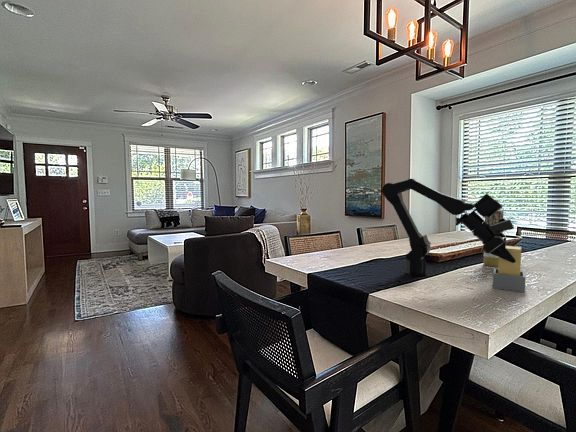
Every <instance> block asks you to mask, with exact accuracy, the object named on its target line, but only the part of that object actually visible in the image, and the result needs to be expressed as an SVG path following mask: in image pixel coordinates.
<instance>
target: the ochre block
mask: <svg viewBox="0 0 576 432" xmlns="http://www.w3.org/2000/svg"><path fill="white" fill-rule="evenodd" d="M505 247H506V249H507V250H508V251H509V252H510V254H511V255H512V256H513V258H514V259H515V260H516V262H514V263H512V262H509V261H507V260H505V259H503V258H500V257H499V266H498V267H497V269H498V274H505V275H514V276H520V271H521V266H522V265H521V264H522V263H521V261H522V247H521V246H514V245H513V246H512V245H507V246H505Z"/></svg>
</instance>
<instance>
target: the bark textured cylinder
mask: <svg viewBox="0 0 576 432" xmlns="http://www.w3.org/2000/svg"><path fill="white" fill-rule="evenodd" d="M502 218H504V209H502V208H501V209H500V210H498V211H497V212H496V213H494V214H493V215H492V216H491V217H487V216H486V217H484V221H485V222H487V223H490V224H491V225H494V224H496V223H498V221H499V219H502ZM503 232H504V231H503ZM503 232H502V233H503ZM503 234H504V233H503ZM502 238H503V239H504V237H502ZM482 260H483V265H485V266H488V267H492V268H493V267H494V268H495V267H496V268H498V266H499V257H498V256H495V255H493V254H490V252H489V253H487V252H486V251H485V250H483V259H482Z"/></svg>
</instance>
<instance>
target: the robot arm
mask: <svg viewBox="0 0 576 432" xmlns="http://www.w3.org/2000/svg"><path fill="white" fill-rule="evenodd" d="M410 190H412V191H414V192H416V193H418V194H419V195H422V196H424V197H426V198H428V199H429V200H431V201H433V202H435V203H437V204H438V205H440V206H441V207H442V208H443V209H444V210H445V211H447V212H448V213H450V214H451V215H453V216H458V215H461V214H462V215H461V216H460V217H456V218H455V225H456V226H459V225H460V224H463V225H464V226H465V228H467V229H468V230H469V231H470V232H471V233H472V235H473V236H474V237H476V238H477V239H479V241H480V242H482V247H483V248H482V249H483V251H484V250H485V251H486V252H487V253H489V252H490V254H493V255H495V256H498V257H500V258H503V259H505V260H507V261H509V262H512V263H514V262H516V260H515V259H514V258H513V256H512V255H511V254H510V252H509V251H508V250H507V249H506V247H505V246H508V244H507V237H506V235H505V233H502V232H506V231H511V230H514V229H515V227H514V225H513V222H512V221H511V219H505V218H504V217H503V218H502V219H499V221H498V223H496V224H494V225H491V224H490V223H487V222H485V219H483V218H485V217H486V216H487V217H491V216H492V215H493V214H494V213H496V212H497V211H498V210H500V209H501V210H502V208H504V206H503V204H501V203H500V202H499V201H498V200H496V199H494V198H493V197H492V196H491V195H490V194H488V193H485V194H484V195H483V196H482V197H481V198H480V199H479V200H477V201H476V202H475V203H473V202H472V203H469V202H466V201H465V200H464V199H461V198H457V197H455V196H451V195H448V194H445V193H442V192H440V191H438V190H436V189H434V188H432V187H430V186H428V185H426V184H424V183H422V182H420V181H418V180H417V179H415V178H409V179H406V180H403V181H399V182H395V183H394V182H387V183H385V184H383V186H382V187H381V193H382V195H383V196H384V197H385V199H386V201H388V203H390V204H391V205H392V207H393V208H394V211H395V213H396V215H397V216H398V219H399V220H400V222H401V224H402V227H403V228H404V230H405V232H406V234H407V236H408V239H409V240H408V241H409V246H410V249H411V250H410V251H409V252H408V253H406V254H405V258H406V265H405V266H406V268H405V269H406V270H405V271H404V273H405V274H407V275H408V276H410V277H427V276H428V274H427V263H426V259H425V256H426V255H428V254H429V253H430V252H431V249H432V247H431V245H432V243H431V241H429V239H428V236H427V234H425V235H424V234H421V232H420V231H419V230H418V227H417V225H416V224H415V222H414V219H413V217H412V215H411V214H410V212H409V210H408V208H407V206H406V205H405V202H404V199H403V192H407V191H410ZM473 209H474V210H473ZM469 211H471V212H470V213H468V212H469ZM482 217H483V218H482ZM502 237H503V238H502Z"/></svg>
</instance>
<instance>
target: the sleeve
mask: <svg viewBox="0 0 576 432" xmlns="http://www.w3.org/2000/svg"><path fill="white" fill-rule="evenodd" d="M525 273H526V272H525V271H522V270H520V276H514V275H505V274H498V268H497V267H496V268H495V267H494V268H493V271H492V289H498V290H499V289H500V290H505V291H512V292H520V293H526V277H527V276H526V274H525Z"/></svg>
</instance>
